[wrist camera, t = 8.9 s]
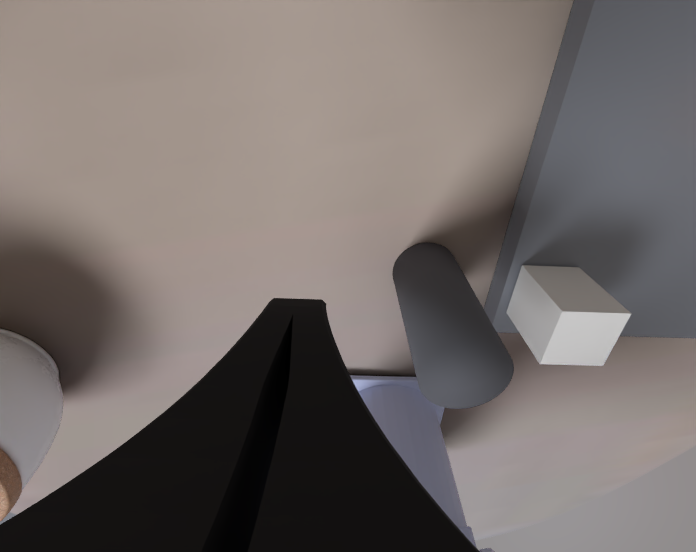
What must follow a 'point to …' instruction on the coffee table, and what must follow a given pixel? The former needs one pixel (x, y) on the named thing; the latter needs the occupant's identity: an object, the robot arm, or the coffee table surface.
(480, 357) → the cylinder
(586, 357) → the plain white brick
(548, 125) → the flat gray rectangular panel
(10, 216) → the coffee table surface
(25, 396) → the lidded jar
